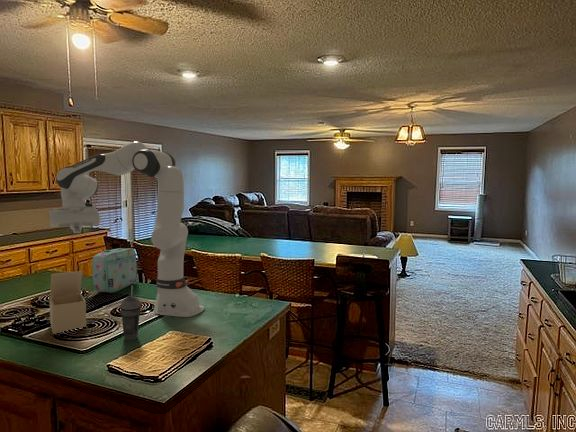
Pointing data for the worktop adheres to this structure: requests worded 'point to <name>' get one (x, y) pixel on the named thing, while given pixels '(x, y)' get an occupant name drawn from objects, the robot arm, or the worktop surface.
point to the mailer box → (67, 312)
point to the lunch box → (114, 269)
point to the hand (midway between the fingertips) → (77, 232)
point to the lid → (65, 283)
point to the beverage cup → (130, 316)
